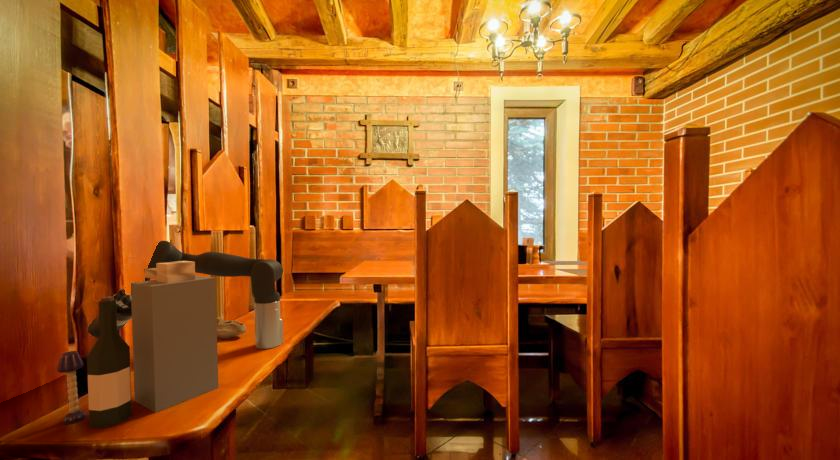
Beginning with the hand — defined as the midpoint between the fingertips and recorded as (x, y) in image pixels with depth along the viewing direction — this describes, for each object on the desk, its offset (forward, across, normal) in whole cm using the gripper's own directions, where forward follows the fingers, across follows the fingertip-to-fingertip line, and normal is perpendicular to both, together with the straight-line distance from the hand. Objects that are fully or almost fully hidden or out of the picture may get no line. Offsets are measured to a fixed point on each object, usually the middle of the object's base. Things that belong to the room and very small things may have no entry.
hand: (140, 289), depth 113 cm
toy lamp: (-2, -20, +31) cm, 37 cm away
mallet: (+16, 0, +4) cm, 17 cm away
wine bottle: (+5, -15, +35) cm, 38 cm away
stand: (+5, 0, +35) cm, 35 cm away
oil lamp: (-28, +38, +16) cm, 50 cm away
